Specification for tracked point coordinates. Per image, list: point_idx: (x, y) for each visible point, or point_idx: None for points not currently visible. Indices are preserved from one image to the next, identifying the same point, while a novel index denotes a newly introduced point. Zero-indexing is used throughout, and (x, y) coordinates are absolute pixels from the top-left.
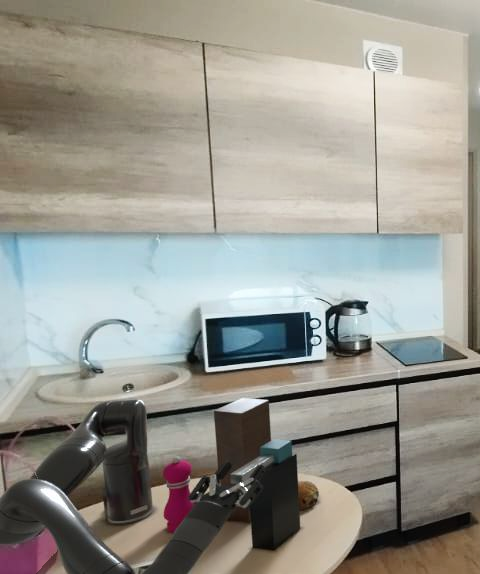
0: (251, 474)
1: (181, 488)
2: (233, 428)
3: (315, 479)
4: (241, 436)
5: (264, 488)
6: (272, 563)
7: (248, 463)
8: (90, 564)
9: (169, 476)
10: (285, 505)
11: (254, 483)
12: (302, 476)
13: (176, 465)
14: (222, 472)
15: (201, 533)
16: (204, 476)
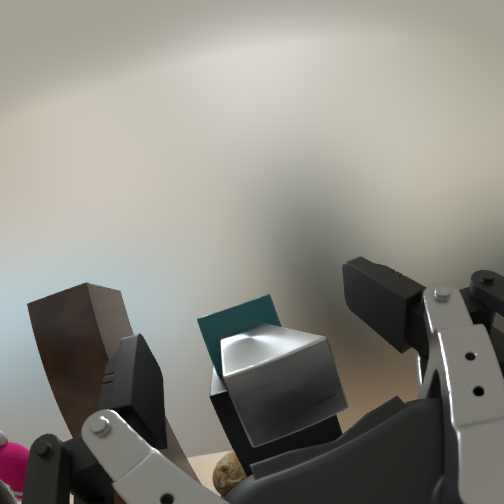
0: (393, 288)
1: None
2: (76, 337)
3: (223, 452)
4: (101, 353)
5: (314, 440)
6: None
7: (225, 347)
8: None
9: (3, 474)
10: None
11: (486, 285)
12: (198, 456)
13: (3, 450)
14: (145, 398)
15: None
16: (42, 439)
